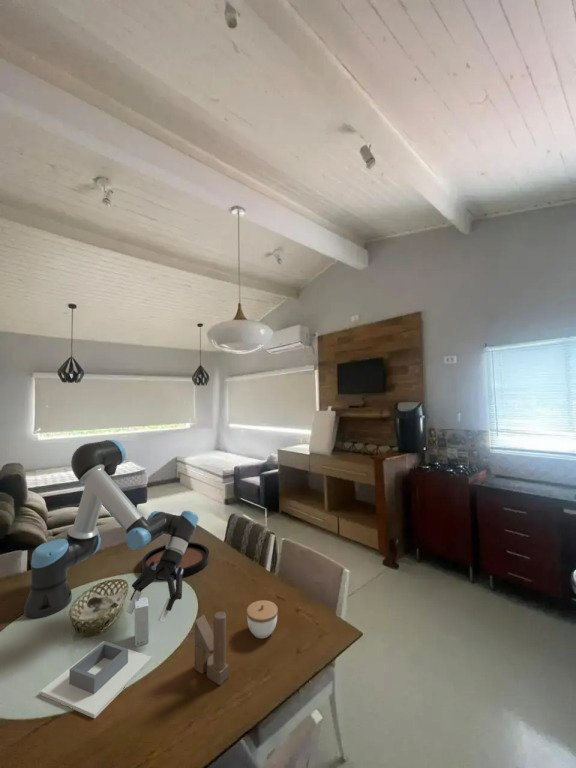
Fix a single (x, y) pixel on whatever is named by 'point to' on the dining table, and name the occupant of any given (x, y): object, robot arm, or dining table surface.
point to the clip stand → (96, 678)
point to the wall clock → (190, 563)
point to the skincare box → (141, 621)
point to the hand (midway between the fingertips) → (144, 617)
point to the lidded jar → (262, 618)
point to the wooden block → (211, 648)
